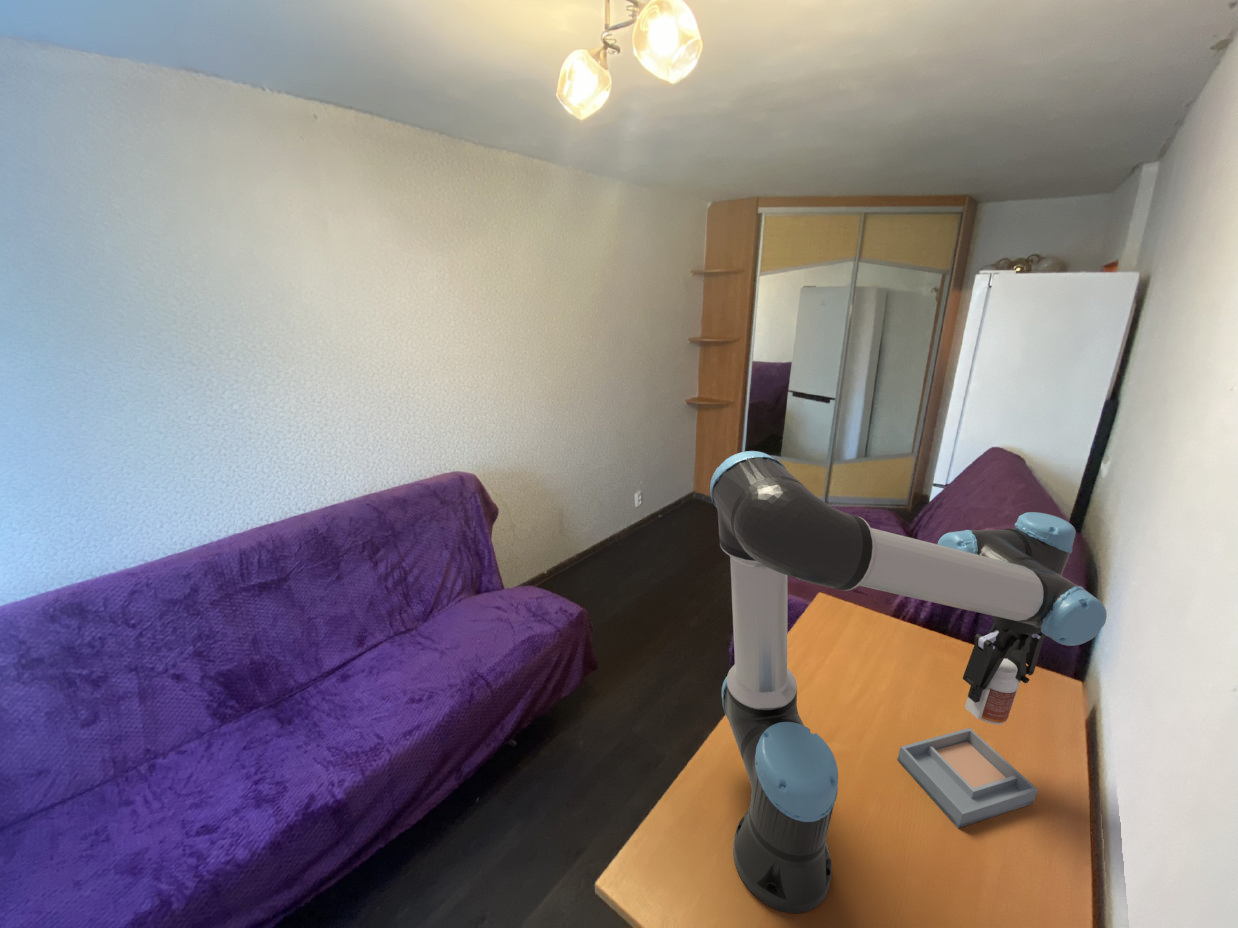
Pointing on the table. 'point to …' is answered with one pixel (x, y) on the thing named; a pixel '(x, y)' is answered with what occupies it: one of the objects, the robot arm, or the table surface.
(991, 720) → the pill bottle
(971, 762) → the walled box
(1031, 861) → the table surface
